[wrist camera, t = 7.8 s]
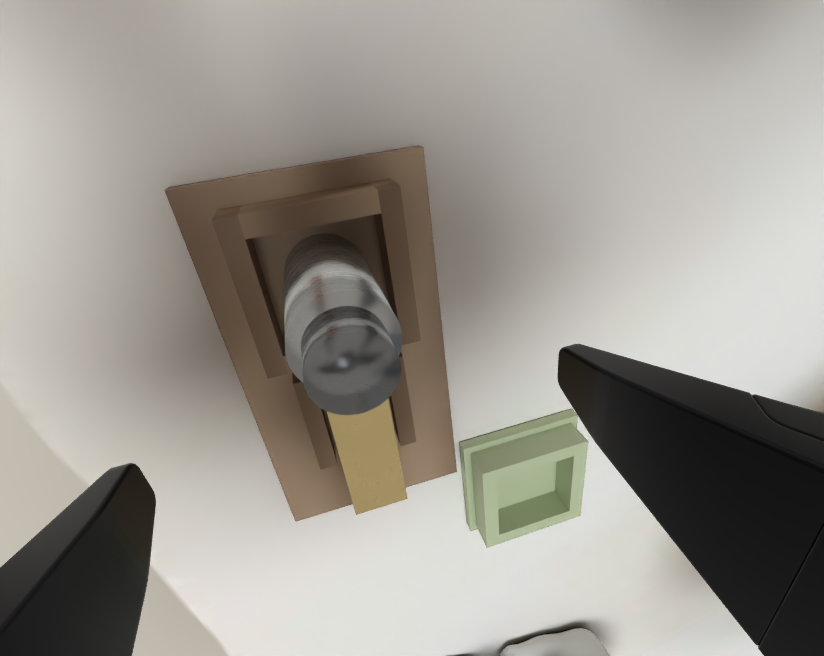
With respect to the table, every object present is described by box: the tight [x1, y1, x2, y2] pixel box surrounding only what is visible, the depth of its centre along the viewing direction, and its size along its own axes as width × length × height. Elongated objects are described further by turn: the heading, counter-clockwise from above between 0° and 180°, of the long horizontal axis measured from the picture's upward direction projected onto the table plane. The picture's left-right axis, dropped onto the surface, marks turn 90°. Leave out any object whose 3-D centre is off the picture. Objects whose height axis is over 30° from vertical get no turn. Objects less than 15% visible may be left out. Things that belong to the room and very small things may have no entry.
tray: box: [460, 409, 588, 548], centre depth 25 cm, size 7×7×2 cm
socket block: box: [165, 146, 457, 521], centre depth 19 cm, size 9×17×2 cm, turn 7°
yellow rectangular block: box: [327, 399, 407, 515], centre depth 19 cm, size 2×6×3 cm, turn 7°
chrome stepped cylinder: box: [284, 233, 402, 415], centre depth 14 cm, size 3×3×8 cm
